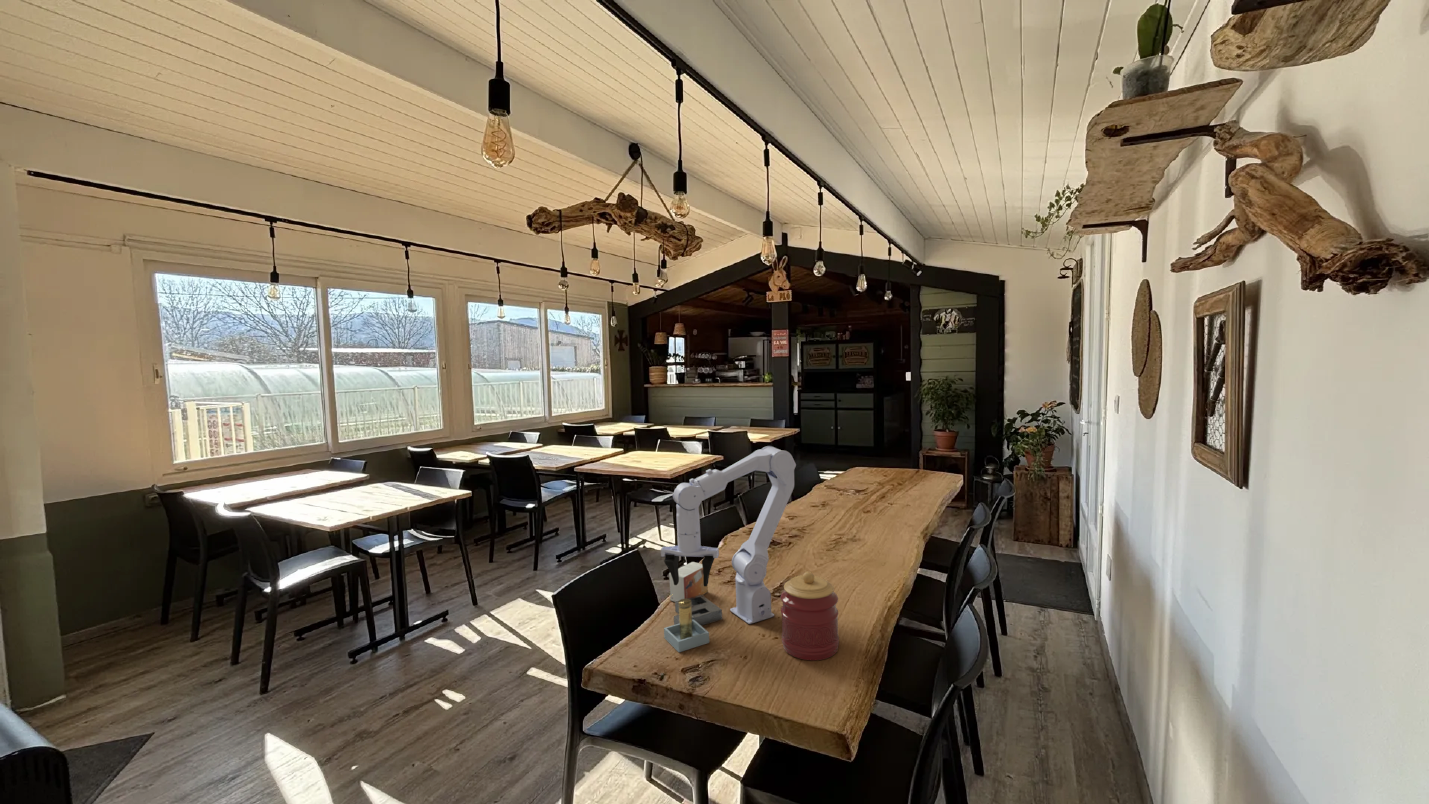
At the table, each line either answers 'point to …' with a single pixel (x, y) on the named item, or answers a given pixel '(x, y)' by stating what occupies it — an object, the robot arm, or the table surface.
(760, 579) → the robot arm
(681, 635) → the gold metallic cylinder
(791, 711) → the table surface
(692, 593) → the small box
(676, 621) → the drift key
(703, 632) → the tray
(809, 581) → the canister
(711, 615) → the socket block
